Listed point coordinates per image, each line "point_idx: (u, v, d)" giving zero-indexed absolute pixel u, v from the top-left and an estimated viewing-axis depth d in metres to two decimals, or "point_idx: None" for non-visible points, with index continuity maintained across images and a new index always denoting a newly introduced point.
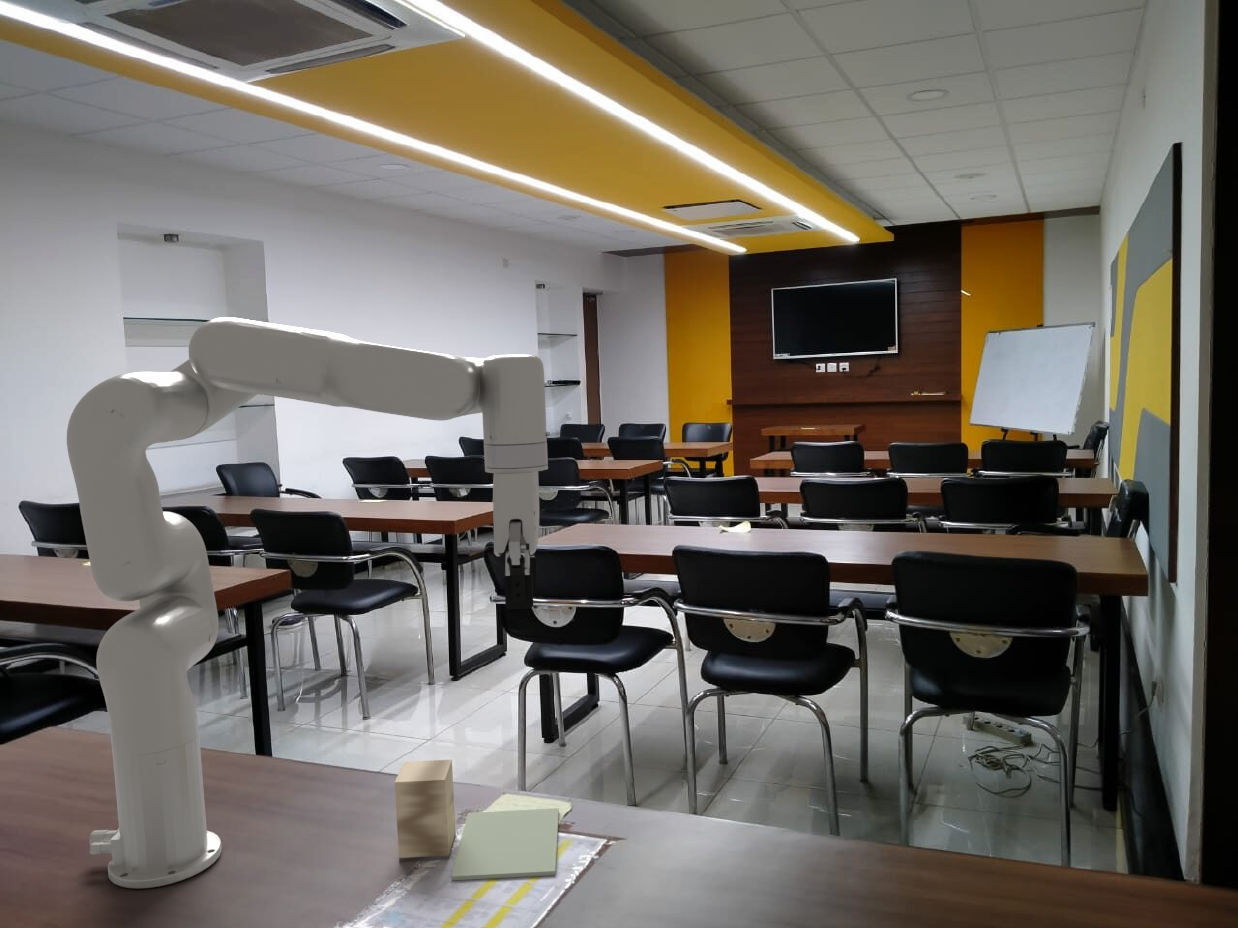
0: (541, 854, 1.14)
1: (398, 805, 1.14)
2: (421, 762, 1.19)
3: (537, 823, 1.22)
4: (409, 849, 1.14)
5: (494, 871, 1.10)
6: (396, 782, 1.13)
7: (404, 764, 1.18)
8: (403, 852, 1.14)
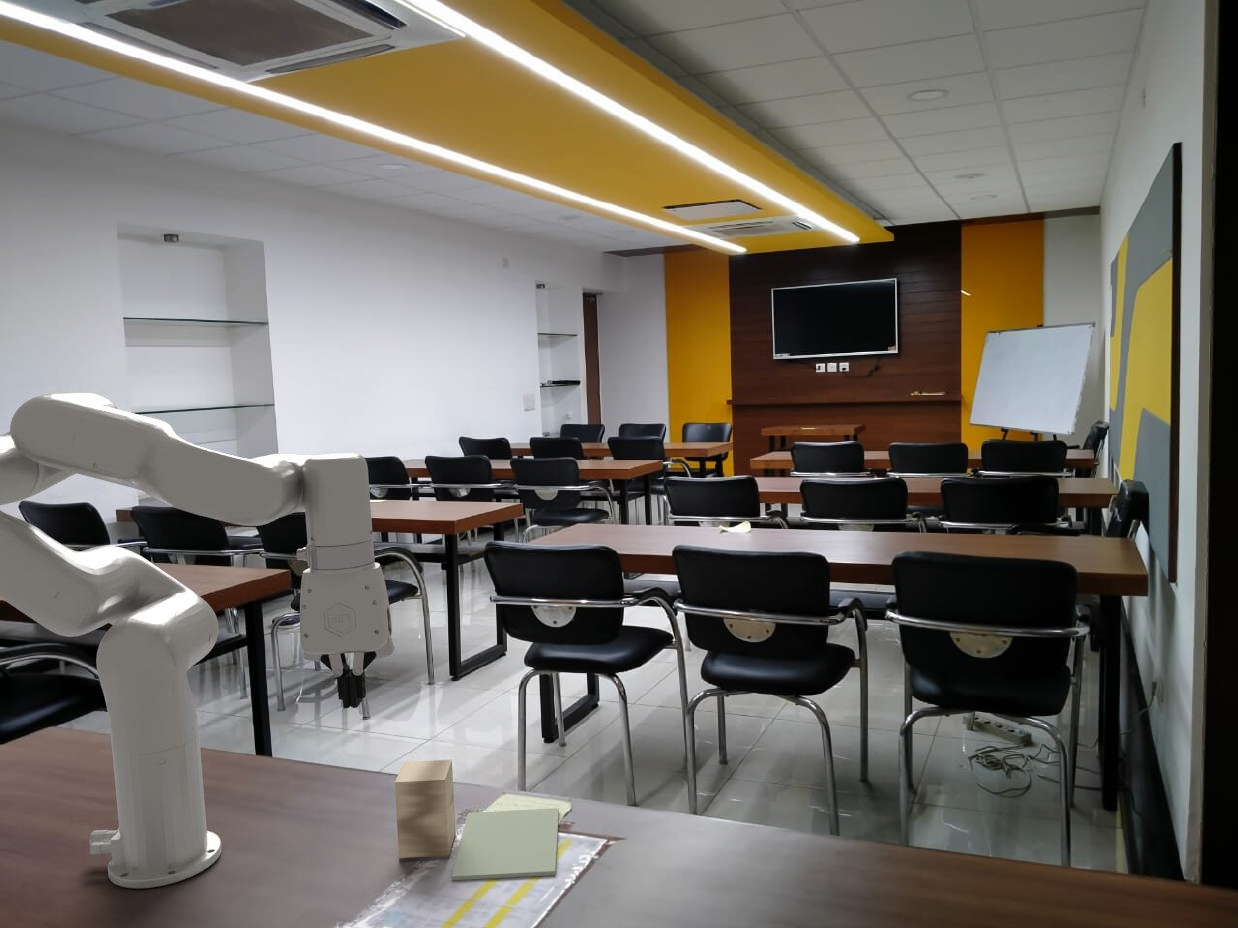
0: (541, 854, 1.14)
1: (398, 805, 1.14)
2: (421, 762, 1.19)
3: (537, 823, 1.22)
4: (409, 849, 1.14)
5: (494, 871, 1.10)
6: (396, 782, 1.13)
7: (404, 764, 1.18)
8: (403, 852, 1.14)
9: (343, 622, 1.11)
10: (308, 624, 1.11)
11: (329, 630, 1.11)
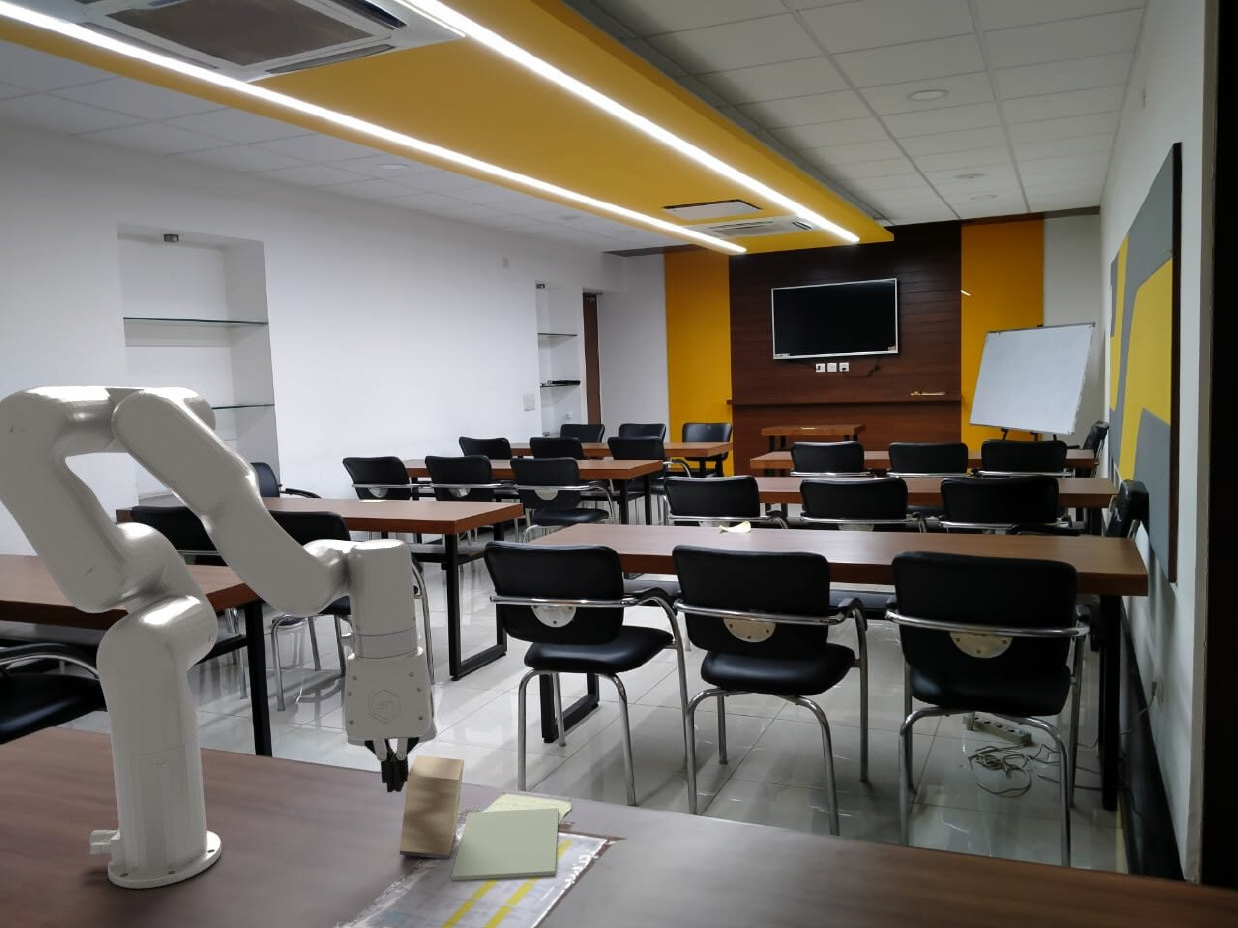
0: (541, 854, 1.14)
1: (408, 798, 1.14)
2: (433, 758, 1.19)
3: (537, 823, 1.22)
4: (411, 843, 1.14)
5: (494, 871, 1.10)
6: (409, 775, 1.13)
7: (417, 757, 1.18)
8: (405, 845, 1.14)
9: (388, 709, 1.13)
10: (353, 711, 1.13)
11: (374, 717, 1.13)
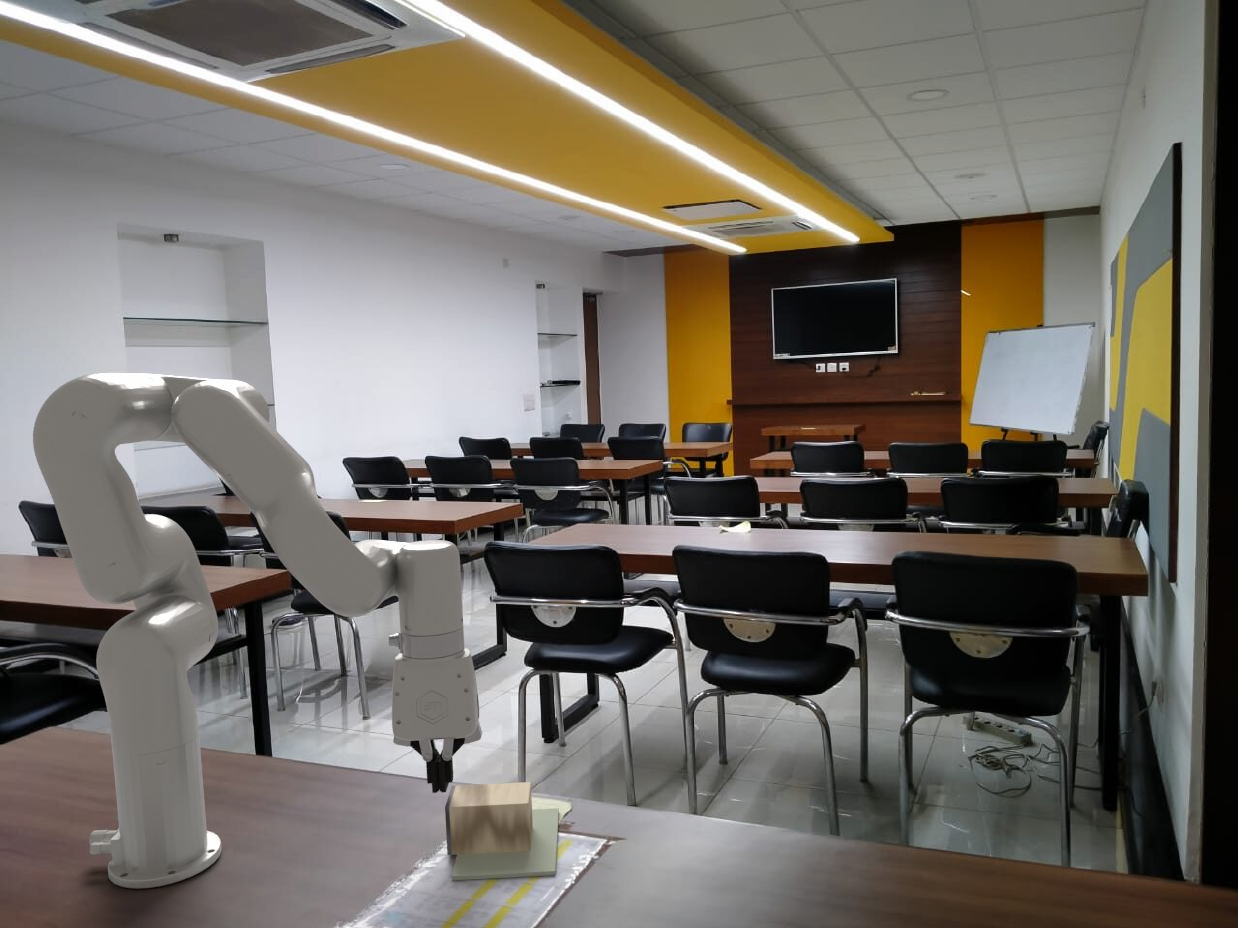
0: (541, 854, 1.14)
1: (503, 806, 1.14)
2: (531, 800, 1.20)
3: (537, 823, 1.22)
4: (457, 817, 1.14)
5: (494, 871, 1.10)
6: (527, 804, 1.14)
7: (530, 786, 1.19)
8: (454, 811, 1.14)
9: (435, 709, 1.13)
10: (400, 711, 1.13)
11: (421, 717, 1.13)
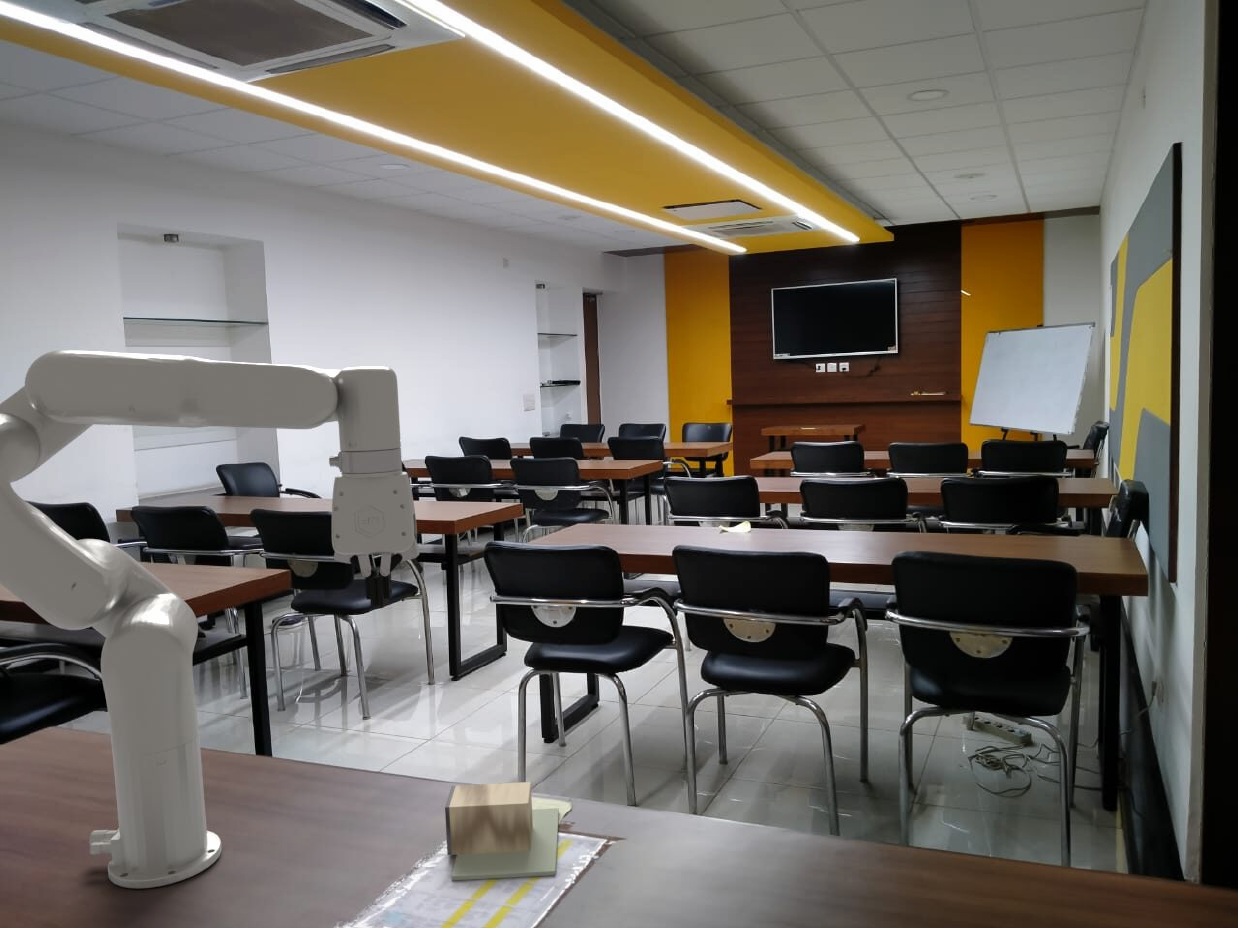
0: (541, 854, 1.14)
1: (503, 806, 1.14)
2: (531, 800, 1.20)
3: (537, 823, 1.22)
4: (457, 817, 1.14)
5: (494, 871, 1.10)
6: (527, 804, 1.14)
7: (530, 786, 1.19)
8: (454, 811, 1.14)
9: (372, 524, 1.19)
10: (339, 525, 1.18)
11: (359, 531, 1.19)
